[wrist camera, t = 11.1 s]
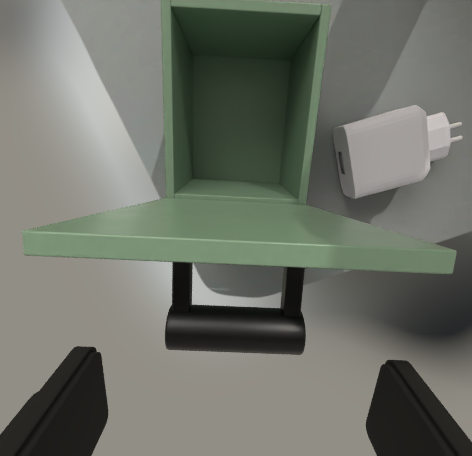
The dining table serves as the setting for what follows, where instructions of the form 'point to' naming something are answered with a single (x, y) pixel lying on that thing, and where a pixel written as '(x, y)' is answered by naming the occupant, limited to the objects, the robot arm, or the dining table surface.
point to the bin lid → (237, 260)
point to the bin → (241, 98)
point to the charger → (390, 149)
